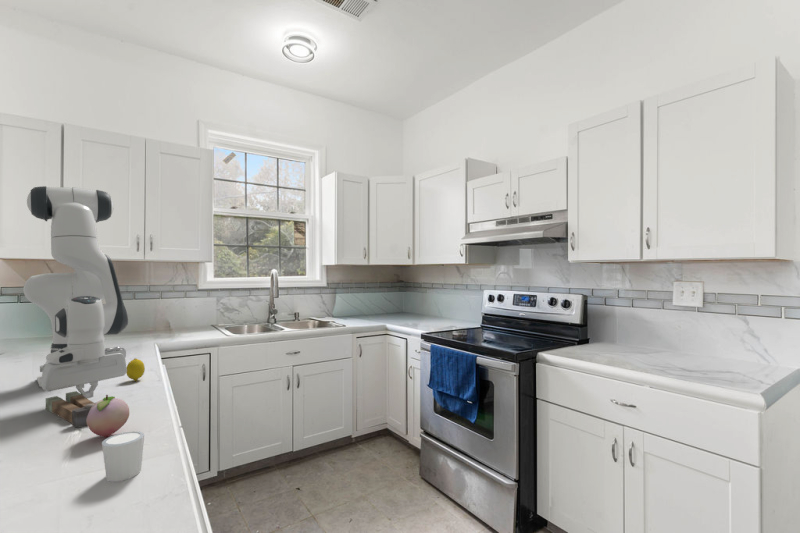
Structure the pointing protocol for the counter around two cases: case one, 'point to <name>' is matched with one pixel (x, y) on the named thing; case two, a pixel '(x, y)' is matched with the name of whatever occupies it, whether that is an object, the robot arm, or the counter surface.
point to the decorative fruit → (107, 416)
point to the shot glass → (123, 455)
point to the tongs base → (68, 411)
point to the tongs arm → (77, 399)
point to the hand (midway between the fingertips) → (87, 398)
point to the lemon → (135, 369)
